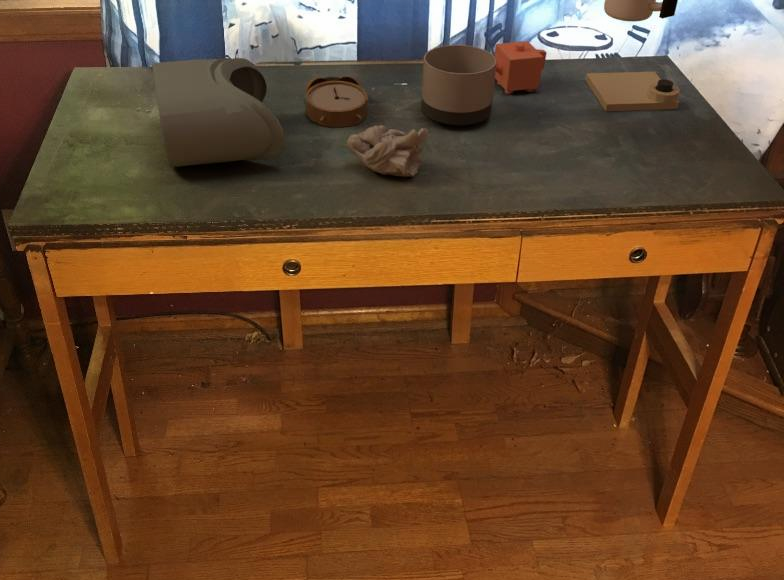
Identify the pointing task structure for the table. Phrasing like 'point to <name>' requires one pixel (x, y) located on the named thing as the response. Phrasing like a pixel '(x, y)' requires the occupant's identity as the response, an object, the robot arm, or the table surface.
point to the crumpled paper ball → (388, 150)
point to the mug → (631, 9)
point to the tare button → (664, 85)
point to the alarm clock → (336, 101)
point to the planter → (458, 84)
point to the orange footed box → (519, 66)
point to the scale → (631, 91)
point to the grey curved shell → (215, 112)
